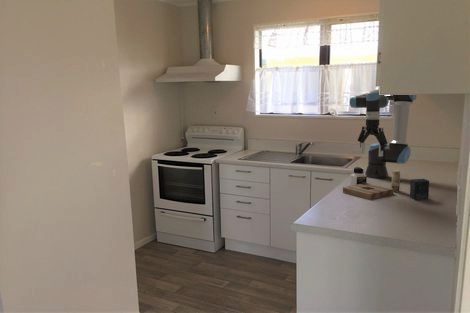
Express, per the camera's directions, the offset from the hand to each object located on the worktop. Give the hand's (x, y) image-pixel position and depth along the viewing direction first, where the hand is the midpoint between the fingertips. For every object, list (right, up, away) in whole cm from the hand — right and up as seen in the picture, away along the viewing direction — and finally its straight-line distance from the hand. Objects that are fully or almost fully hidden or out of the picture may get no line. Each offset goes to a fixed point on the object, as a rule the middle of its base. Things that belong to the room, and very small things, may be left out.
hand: (371, 154), depth 230 cm
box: (+20, -24, -16) cm, 36 cm away
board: (-3, -22, -3) cm, 23 cm away
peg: (+15, -22, +1) cm, 26 cm away
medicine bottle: (-3, -20, +15) cm, 25 cm away
